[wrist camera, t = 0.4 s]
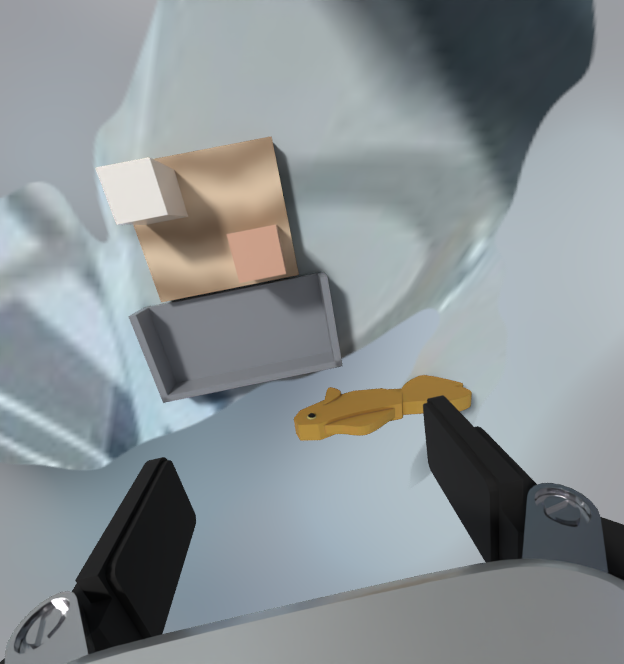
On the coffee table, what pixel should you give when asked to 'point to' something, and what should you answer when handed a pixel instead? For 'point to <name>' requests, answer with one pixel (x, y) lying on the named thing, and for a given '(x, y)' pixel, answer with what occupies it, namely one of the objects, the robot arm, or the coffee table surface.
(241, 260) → the terracotta block
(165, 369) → the box
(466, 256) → the coffee table surface
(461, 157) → the coffee table surface
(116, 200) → the cream block
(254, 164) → the board
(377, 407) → the decorative fish
